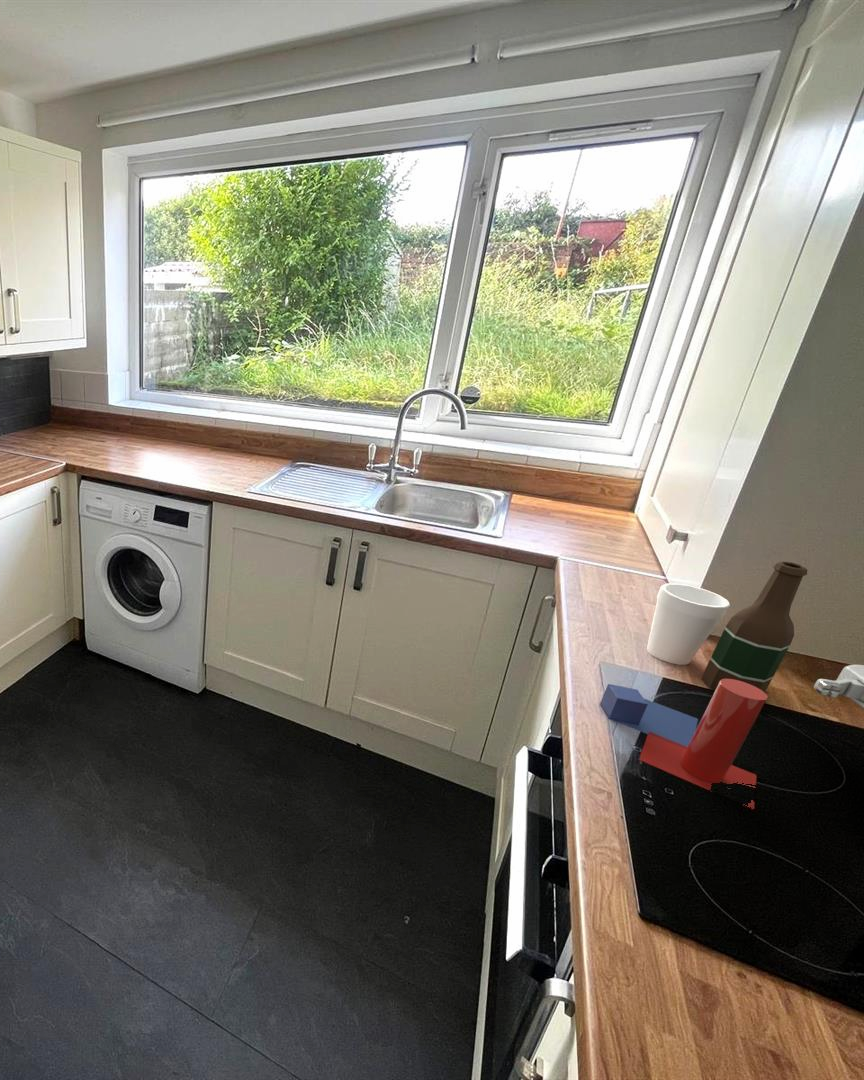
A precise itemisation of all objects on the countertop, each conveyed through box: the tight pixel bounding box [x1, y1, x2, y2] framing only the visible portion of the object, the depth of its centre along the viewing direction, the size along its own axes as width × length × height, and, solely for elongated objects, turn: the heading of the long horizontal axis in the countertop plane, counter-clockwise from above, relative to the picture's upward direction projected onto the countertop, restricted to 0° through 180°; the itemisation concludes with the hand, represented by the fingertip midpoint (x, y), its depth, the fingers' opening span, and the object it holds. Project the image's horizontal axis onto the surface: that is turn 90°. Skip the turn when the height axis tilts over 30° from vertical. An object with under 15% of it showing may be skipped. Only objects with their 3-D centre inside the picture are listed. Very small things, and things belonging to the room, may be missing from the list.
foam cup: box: [646, 582, 731, 666], centre depth 108 cm, size 10×9×13 cm
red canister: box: [680, 679, 768, 783], centre depth 79 cm, size 5×5×14 cm
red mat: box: [638, 732, 757, 810], centre depth 83 cm, size 12×9×1 cm
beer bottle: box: [701, 561, 808, 694], centre depth 96 cm, size 8×8×24 cm
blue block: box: [599, 683, 648, 725], centre depth 92 cm, size 4×4×4 cm
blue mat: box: [610, 698, 699, 747], centre depth 92 cm, size 10×11×1 cm
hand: (844, 707), depth 74 cm, fingers open, 8 cm apart
